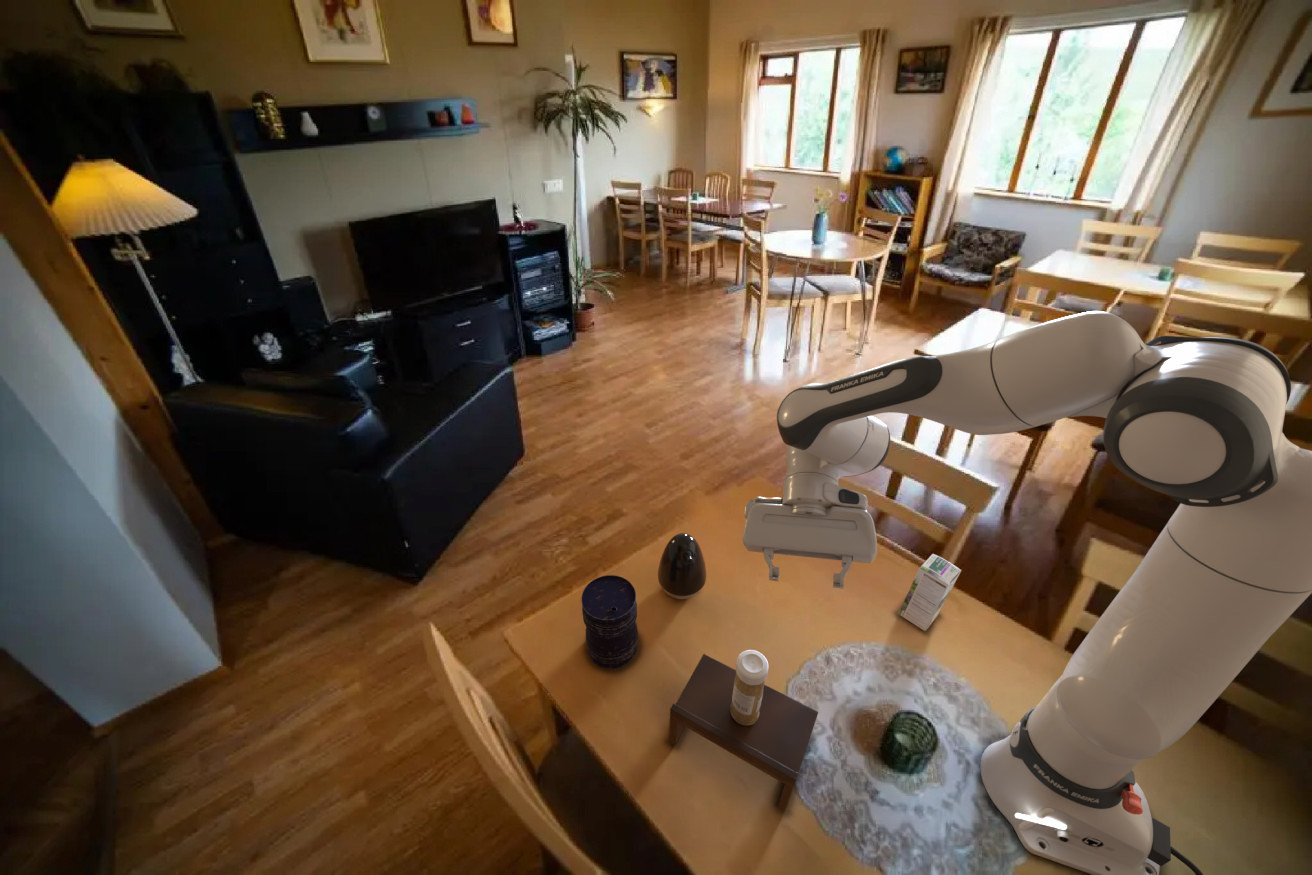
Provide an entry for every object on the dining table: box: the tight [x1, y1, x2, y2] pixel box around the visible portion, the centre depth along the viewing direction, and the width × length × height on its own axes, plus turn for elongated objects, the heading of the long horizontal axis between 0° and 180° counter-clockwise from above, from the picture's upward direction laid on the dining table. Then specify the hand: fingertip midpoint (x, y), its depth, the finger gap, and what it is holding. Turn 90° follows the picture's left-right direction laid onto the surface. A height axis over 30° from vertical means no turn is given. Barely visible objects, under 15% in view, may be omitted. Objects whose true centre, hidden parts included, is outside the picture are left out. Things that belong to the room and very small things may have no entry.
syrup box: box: [898, 553, 962, 632], centre depth 104 cm, size 6×6×14 cm
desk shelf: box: [669, 653, 819, 812], centre depth 85 cm, size 20×12×11 cm, turn 60°
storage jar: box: [581, 574, 639, 670], centre depth 98 cm, size 10×10×15 cm
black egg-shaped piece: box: [657, 532, 707, 600], centre depth 110 cm, size 10×10×15 cm
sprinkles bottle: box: [730, 649, 770, 726], centre depth 79 cm, size 5×5×14 cm
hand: (805, 583), depth 81 cm, fingers open, 8 cm apart
